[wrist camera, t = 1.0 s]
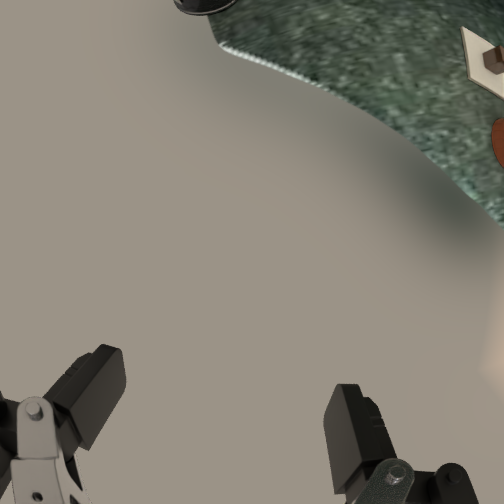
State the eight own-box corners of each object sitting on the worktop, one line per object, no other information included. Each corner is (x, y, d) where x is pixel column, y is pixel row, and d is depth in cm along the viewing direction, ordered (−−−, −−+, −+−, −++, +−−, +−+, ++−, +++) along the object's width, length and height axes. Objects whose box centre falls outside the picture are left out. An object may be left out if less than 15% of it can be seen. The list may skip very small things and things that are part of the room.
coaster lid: (459, 27, 23) (478, 15, 17) (501, 54, 23) (520, 46, 17) (467, 79, 26) (490, 69, 20) (509, 104, 25) (531, 100, 20)
